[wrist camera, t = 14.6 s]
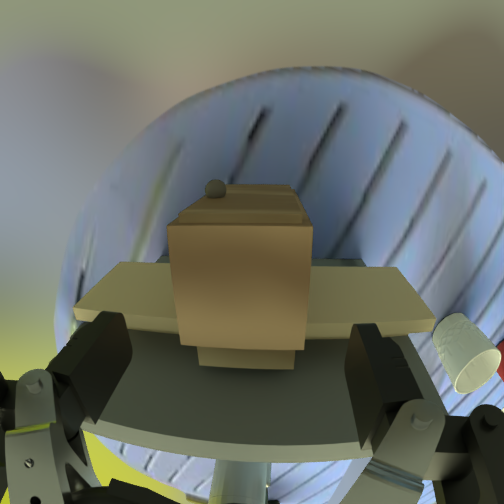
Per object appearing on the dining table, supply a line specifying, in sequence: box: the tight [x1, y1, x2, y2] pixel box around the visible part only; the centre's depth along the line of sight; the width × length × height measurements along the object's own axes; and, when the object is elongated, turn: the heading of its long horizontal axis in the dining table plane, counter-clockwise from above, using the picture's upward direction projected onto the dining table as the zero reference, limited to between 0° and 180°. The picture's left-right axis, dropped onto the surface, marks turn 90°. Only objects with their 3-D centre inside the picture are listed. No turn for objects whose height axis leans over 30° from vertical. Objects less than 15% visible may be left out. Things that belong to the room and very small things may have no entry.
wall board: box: [73, 256, 448, 463], centre depth 25 cm, size 12×24×24 cm, turn 91°
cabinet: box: [167, 180, 313, 369], centre depth 19 cm, size 10×6×12 cm, turn 1°
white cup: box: [432, 313, 501, 394], centre depth 33 cm, size 8×8×10 cm
